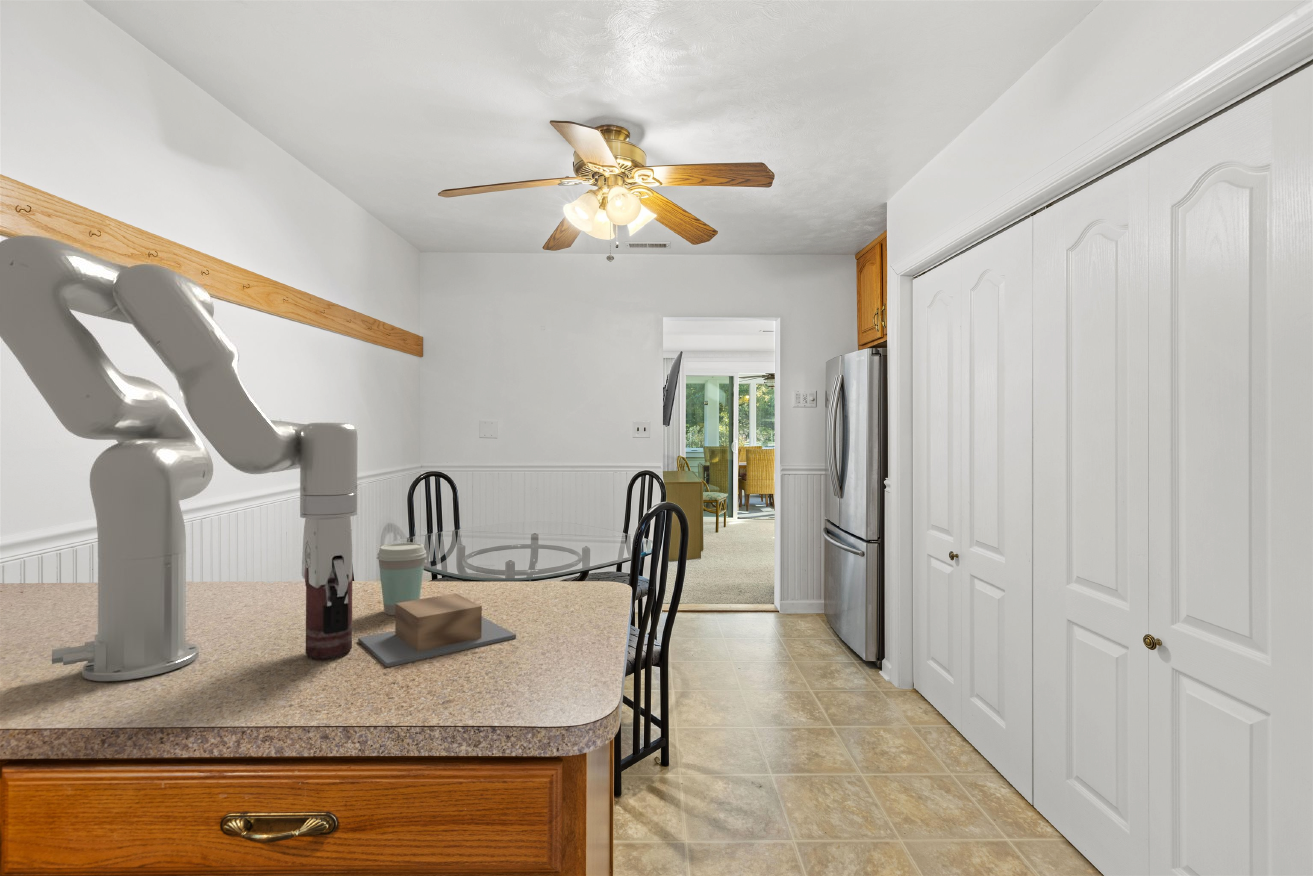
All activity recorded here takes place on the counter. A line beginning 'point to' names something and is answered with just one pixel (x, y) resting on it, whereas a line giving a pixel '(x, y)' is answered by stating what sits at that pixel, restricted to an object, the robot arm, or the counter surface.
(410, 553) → the coffee cup
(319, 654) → the can
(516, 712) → the counter surface
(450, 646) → the mat
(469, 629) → the block
